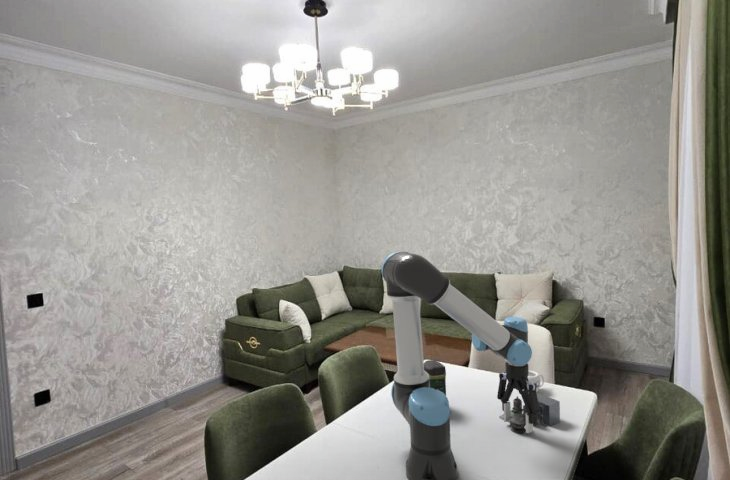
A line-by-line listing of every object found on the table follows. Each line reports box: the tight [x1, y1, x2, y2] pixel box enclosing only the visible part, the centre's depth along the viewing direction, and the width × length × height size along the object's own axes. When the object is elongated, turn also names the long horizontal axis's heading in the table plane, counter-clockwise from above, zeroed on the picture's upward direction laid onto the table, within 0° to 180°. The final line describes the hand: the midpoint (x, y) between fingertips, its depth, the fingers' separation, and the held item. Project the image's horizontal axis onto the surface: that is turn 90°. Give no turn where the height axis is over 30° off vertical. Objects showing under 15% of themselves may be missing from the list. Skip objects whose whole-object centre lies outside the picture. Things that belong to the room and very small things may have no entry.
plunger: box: [511, 404, 542, 426], centre depth 149 cm, size 9×10×5 cm
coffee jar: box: [424, 359, 447, 396], centre depth 159 cm, size 10×8×19 cm
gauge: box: [499, 392, 561, 428], centre depth 148 cm, size 15×14×8 cm
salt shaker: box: [509, 396, 527, 435], centre depth 141 cm, size 6×6×12 cm
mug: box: [522, 370, 545, 393], centre depth 172 cm, size 12×8×8 cm
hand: (518, 426), depth 142 cm, fingers open, 8 cm apart
